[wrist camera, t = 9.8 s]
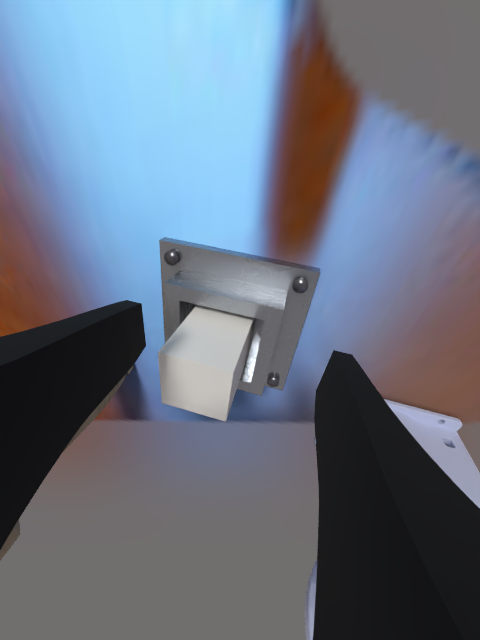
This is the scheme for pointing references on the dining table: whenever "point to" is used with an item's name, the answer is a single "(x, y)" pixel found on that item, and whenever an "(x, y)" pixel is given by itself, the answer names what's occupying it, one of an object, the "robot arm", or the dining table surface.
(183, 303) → the bracket
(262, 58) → the dining table surface
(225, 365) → the block
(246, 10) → the dining table surface
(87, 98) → the dining table surface
